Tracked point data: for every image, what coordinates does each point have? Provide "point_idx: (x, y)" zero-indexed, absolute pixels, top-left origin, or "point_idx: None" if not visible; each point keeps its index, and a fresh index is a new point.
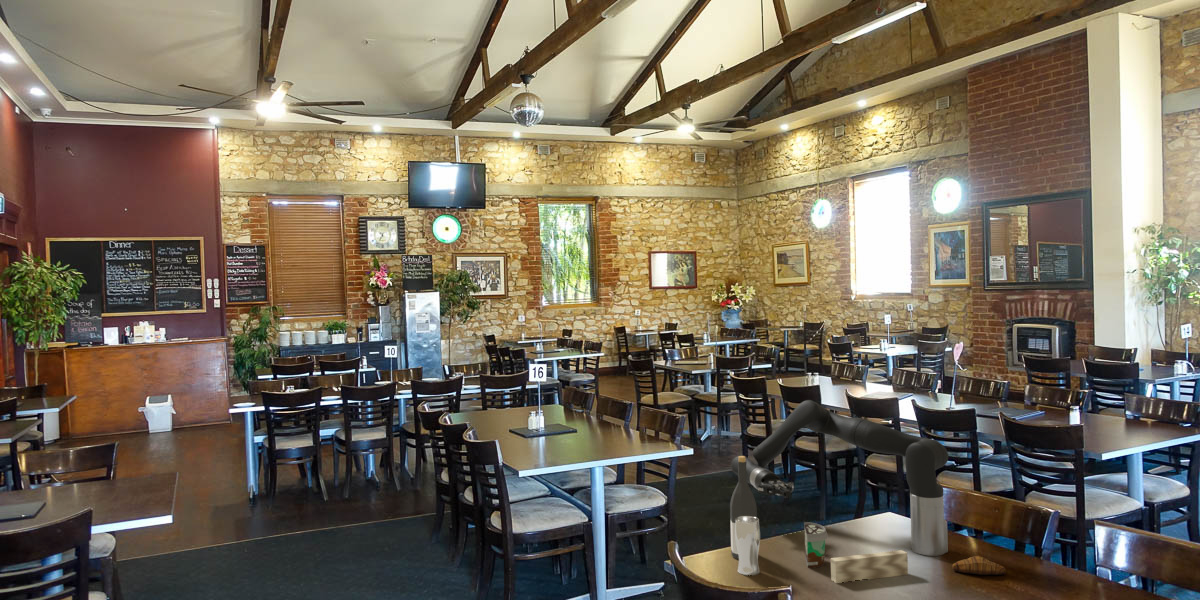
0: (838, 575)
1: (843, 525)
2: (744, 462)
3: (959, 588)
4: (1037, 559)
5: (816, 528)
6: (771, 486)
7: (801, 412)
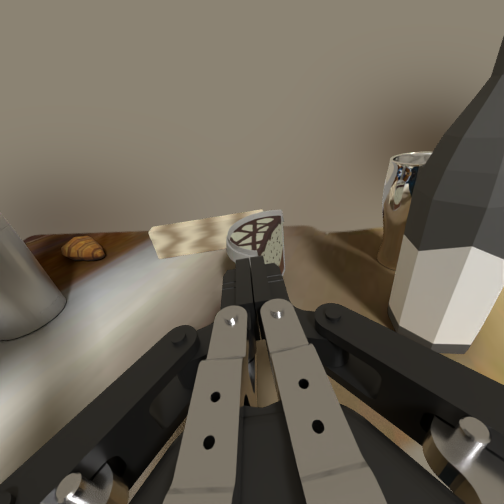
0: None
1: None
2: None
3: (148, 233)
4: None
5: (240, 242)
6: (352, 342)
7: None
